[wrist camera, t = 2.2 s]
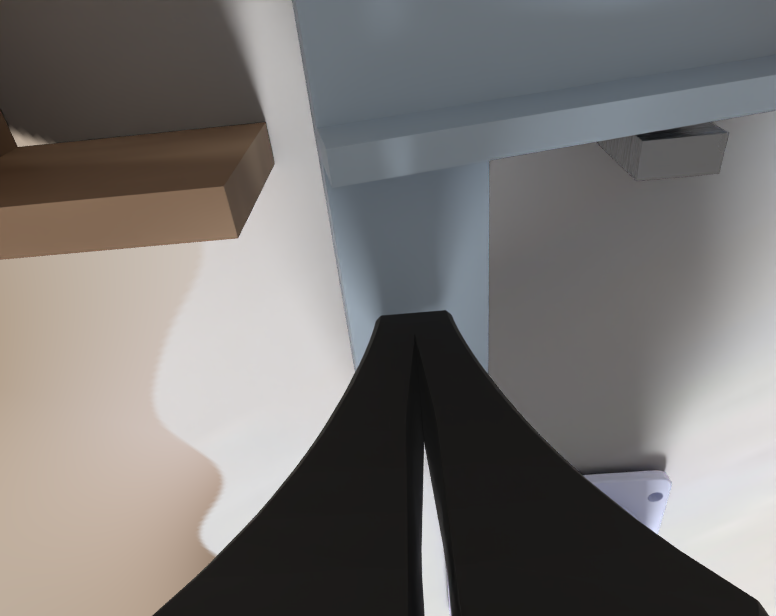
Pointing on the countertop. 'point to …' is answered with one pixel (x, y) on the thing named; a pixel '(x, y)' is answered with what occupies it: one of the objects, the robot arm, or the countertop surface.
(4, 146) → the pocket
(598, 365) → the countertop surface
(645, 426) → the countertop surface
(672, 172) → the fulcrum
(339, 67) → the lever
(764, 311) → the countertop surface
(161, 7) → the countertop surface
